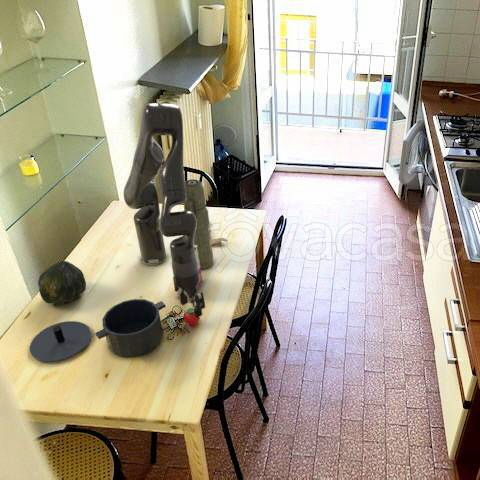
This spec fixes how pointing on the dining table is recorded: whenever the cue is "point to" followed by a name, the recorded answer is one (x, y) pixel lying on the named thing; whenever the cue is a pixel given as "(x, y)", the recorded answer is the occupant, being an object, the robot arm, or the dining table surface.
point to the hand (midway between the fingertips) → (191, 309)
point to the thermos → (199, 221)
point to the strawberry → (191, 318)
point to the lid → (60, 341)
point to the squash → (61, 283)
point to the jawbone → (216, 241)
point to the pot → (132, 328)
